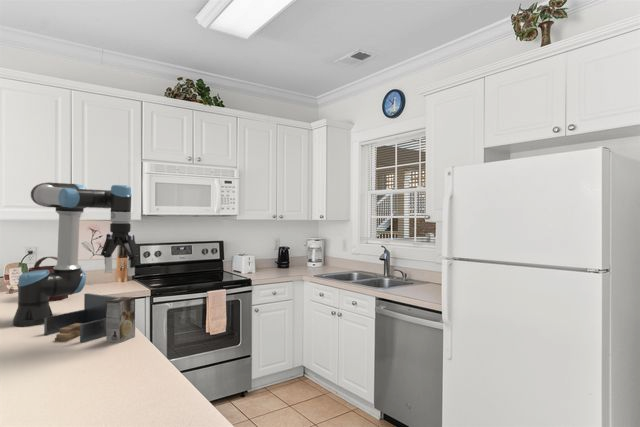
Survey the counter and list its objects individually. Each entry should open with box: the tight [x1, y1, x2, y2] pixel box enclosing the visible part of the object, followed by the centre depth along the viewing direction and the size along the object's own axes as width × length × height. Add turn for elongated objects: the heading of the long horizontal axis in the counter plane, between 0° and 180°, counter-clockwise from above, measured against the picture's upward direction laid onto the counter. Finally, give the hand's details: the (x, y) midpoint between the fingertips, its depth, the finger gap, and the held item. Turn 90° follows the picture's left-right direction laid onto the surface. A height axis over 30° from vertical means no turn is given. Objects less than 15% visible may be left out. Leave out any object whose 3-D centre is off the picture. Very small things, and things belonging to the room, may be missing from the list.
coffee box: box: [105, 296, 136, 344], centre depth 163 cm, size 9×6×16 cm
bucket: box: [27, 256, 69, 303], centre depth 239 cm, size 24×22×25 cm
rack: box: [43, 292, 120, 344], centre depth 171 cm, size 24×19×14 cm
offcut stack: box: [54, 323, 84, 343], centre depth 165 cm, size 12×6×4 cm, turn 176°
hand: (119, 274), depth 168 cm, fingers open, 13 cm apart
